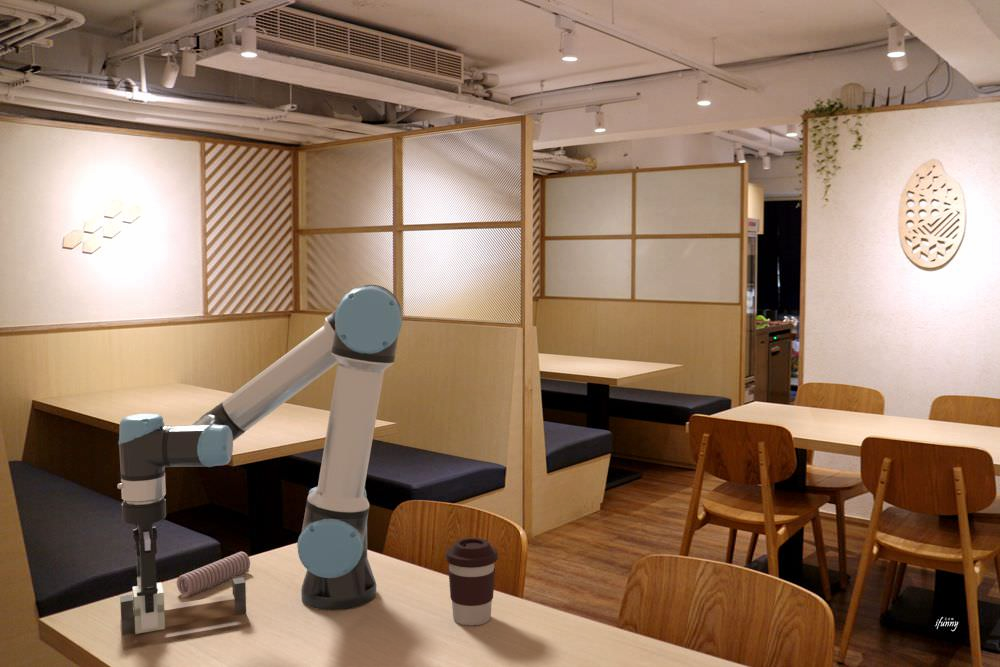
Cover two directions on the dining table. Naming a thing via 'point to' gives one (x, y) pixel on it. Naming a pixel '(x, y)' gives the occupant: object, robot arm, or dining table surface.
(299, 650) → the dining table surface
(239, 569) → the coil
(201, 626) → the track
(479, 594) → the coffee cup
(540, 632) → the dining table surface
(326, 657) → the dining table surface
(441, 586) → the dining table surface
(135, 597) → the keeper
